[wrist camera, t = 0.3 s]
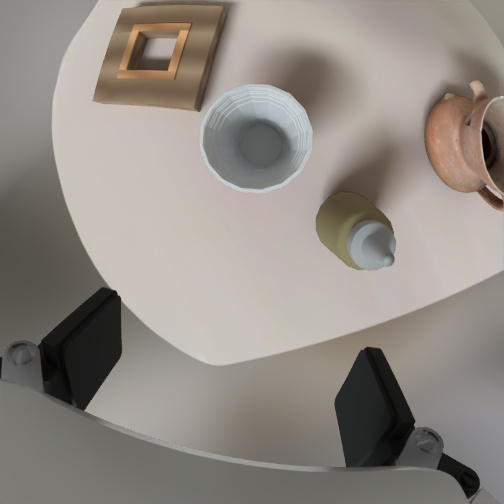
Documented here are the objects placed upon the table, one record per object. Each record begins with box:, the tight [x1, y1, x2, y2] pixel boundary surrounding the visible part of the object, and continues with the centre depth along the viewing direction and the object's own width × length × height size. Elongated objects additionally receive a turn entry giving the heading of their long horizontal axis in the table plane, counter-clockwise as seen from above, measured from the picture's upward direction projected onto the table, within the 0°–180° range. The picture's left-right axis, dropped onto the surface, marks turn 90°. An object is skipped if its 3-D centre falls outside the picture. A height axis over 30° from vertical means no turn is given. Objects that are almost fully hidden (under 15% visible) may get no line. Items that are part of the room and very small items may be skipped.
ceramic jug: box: [425, 80, 504, 211], centre depth 27 cm, size 18×14×14 cm
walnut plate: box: [93, 5, 226, 112], centre depth 32 cm, size 16×16×3 cm
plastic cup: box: [199, 84, 313, 193], centre depth 31 cm, size 11×11×12 cm
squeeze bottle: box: [316, 192, 396, 270], centre depth 30 cm, size 8×8×18 cm
